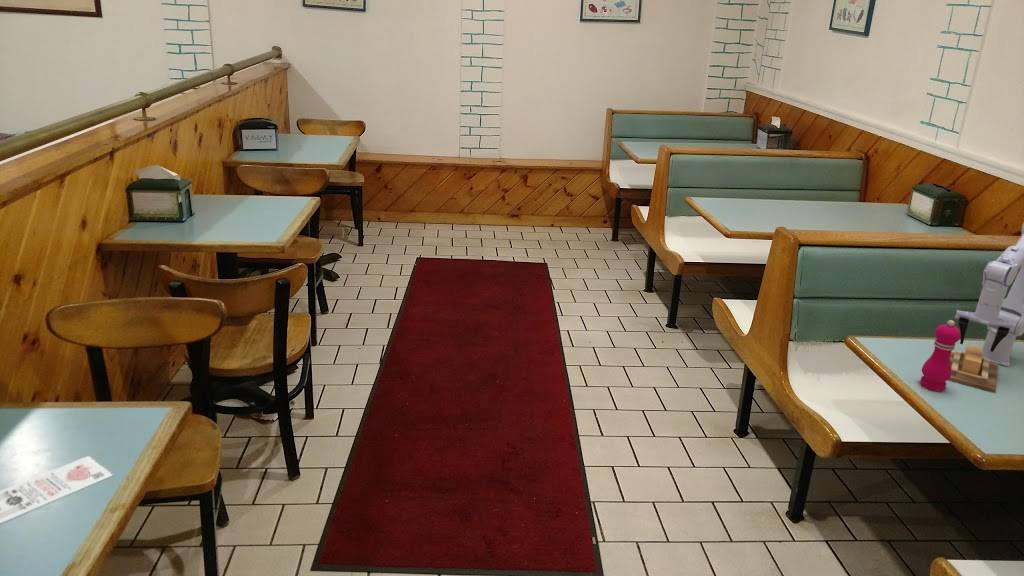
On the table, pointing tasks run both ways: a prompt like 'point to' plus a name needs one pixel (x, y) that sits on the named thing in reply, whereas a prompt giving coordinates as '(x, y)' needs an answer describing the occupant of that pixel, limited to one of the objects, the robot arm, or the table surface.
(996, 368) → the jig
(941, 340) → the pepper mill
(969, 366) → the tan block
